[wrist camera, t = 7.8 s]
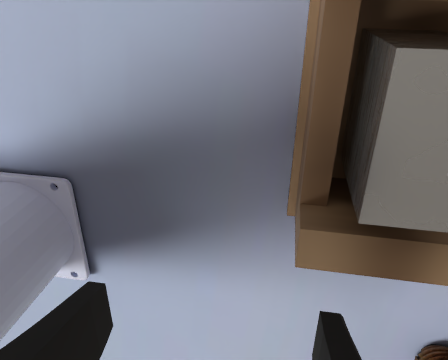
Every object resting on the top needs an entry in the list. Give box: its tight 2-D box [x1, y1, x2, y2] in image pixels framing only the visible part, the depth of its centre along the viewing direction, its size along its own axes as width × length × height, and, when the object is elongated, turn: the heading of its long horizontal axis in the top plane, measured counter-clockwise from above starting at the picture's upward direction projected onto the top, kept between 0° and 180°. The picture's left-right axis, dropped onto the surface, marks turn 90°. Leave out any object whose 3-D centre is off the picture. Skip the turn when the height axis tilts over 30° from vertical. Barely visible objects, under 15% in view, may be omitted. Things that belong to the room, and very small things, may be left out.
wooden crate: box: [287, 0, 448, 286], centre depth 15 cm, size 8×14×6 cm, turn 179°
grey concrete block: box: [341, 28, 448, 233], centre depth 14 cm, size 3×6×6 cm, turn 179°
